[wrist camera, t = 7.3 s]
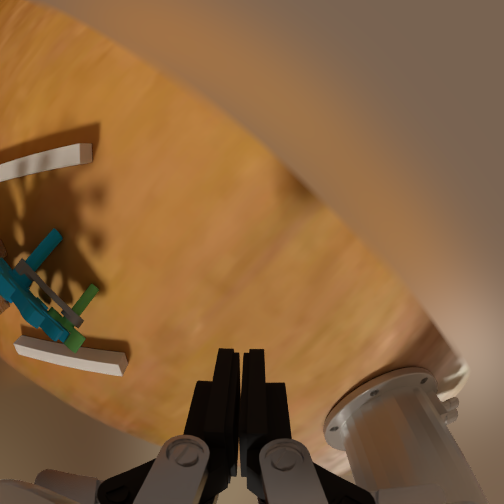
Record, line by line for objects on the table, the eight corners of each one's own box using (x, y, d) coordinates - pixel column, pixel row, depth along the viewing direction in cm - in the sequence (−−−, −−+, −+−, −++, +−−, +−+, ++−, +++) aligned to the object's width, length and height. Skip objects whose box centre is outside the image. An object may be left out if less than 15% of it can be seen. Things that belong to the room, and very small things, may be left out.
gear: (-20, 252, 14) (-60, 231, 7) (23, 202, 17) (10, 152, 10) (66, 344, 19) (77, 380, 11) (105, 292, 22) (137, 296, 14)
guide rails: (91, 143, 14) (79, 143, 13) (128, 364, 19) (122, 376, 18) (-16, 172, 14) (-28, 174, 12) (25, 345, 19) (18, 353, 18)
